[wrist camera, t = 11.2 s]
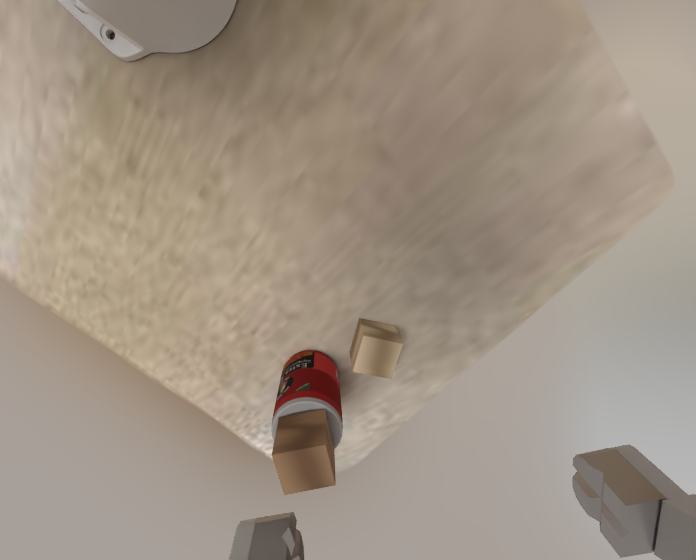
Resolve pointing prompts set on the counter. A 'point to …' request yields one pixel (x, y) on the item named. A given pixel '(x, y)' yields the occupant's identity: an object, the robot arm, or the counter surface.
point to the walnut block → (304, 452)
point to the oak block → (375, 348)
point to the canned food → (310, 390)
